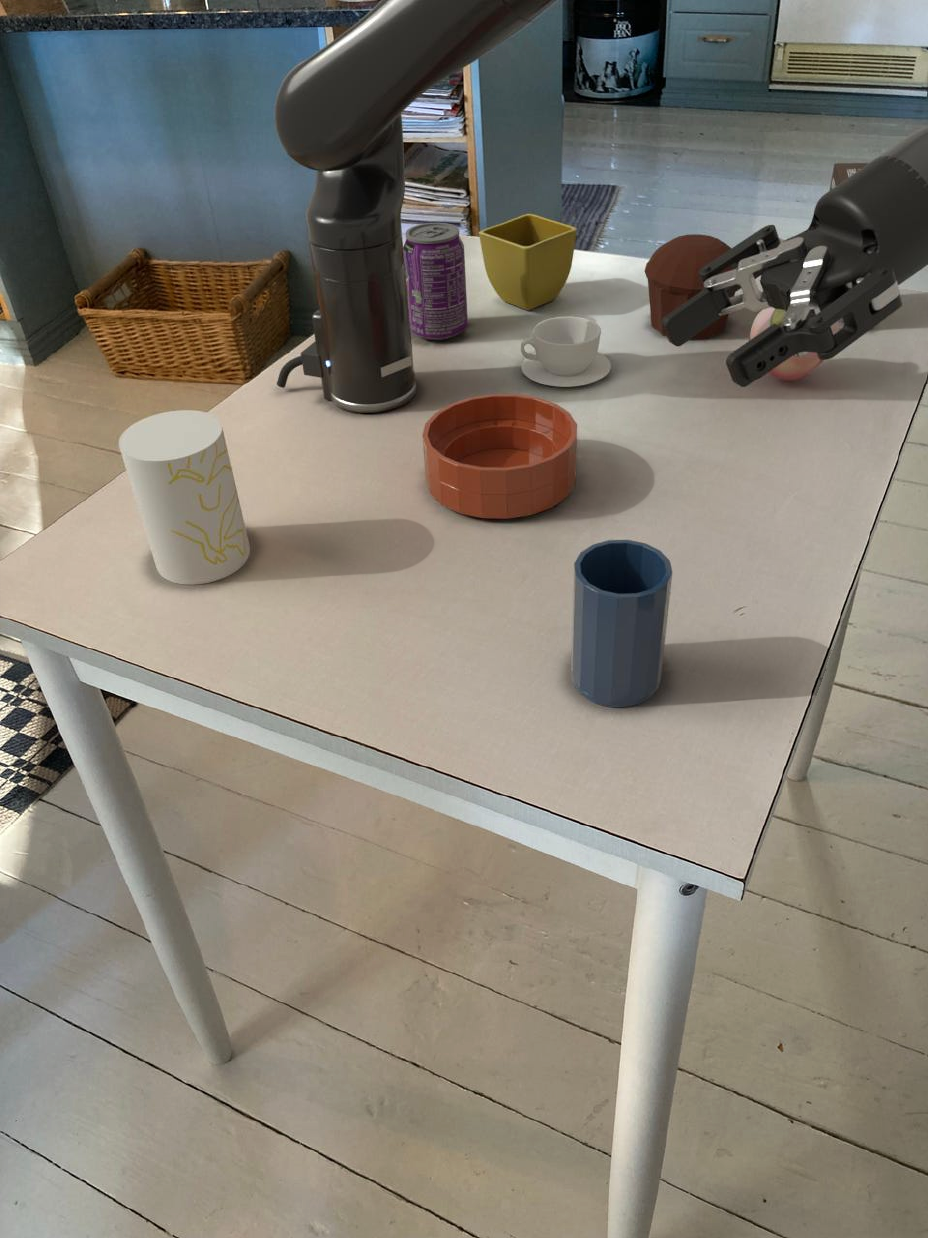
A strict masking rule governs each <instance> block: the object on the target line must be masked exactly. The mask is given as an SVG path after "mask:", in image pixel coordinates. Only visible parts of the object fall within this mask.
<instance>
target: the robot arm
mask: <svg viewBox="0 0 928 1238" xmlns="http://www.w3.org/2000/svg"><path fill="white" fill-rule="evenodd" d="M559 1H560V0H380V1H379V2H378V3H377V4H376V5H375V6H374V7H373V8H371V10H370V11H369V12H367V14H365V15H364V16H363V17H362V18H361V19H359V21H357V22H356V23H355V24H354V25H352V26H351V27H349V28H348V29H347V30H345V31H344V32H343V33H341V34H340V35H339V36H338V37H336V38H335V39H334V40H332V41H331V42H329V43H328V44H327V45H325V46H324V47H322V48H321V49H319V50H318V51H316V52H315V53H314V54H313V55H311V56H309V57H308V58H306V59H305V60H302V61H301V62H299V63H297V64H296V65H295V66H293V68H291V70H290V71H289V72H288V73H287V74H286V76H285V77H284V79H283V80H282V82H281V83H280V87H279V89H278V92H277V95H276V98H275V102H274V112H273V115H274V116H273V120H274V127H275V133H276V136H277V138H278V142H279V143H280V145H281V147H282V149H283V150H284V151H285V153H286V154H287V155H288V156H289V157H290V158H291V159H292V160H293V161H295V162H296V163H298V164H299V165H301V166H302V167H305V168H307V169H309V170H313V171H316V176H315V181H314V186H313V187H314V188H313V191H312V194H311V197H310V199H309V200H308V201H309V202H308V204H307V206H306V209H305V225H306V231H307V238H308V243H309V244H308V245H309V250H310V257H311V265H312V271H313V277H314V284H315V291H316V298H317V305H318V310H316V311H315V312H314V313H313V314H312V315H311V316H312V318H311V321H312V328H313V334H314V340H315V341H314V342H312V343H311V344H310V345H308V346H307V347H306V348H304V350H302V351H301V352H300V355H299V356H296V357H294V358H292V359H290V360H288V361H287V362H286V363H285V364H283V366H282V368H281V369H280V371H279V375H278V378H277V381H276V385H277V386H278V387H279V388H283V389H284V388H286V386H287V382H288V379H289V376H290V374H291V372H292V371H293V370H294V369H296V368H297V367H300V366H302V371H303V374H304V376H308V377H314V378H320V380H321V386H322V394H323V399H324V400H327V401H332V403H333V404H334V405H336V406H337V407H338V408H341V409H342V410H345V411H349V412H353V413H354V412H355V413H363V414H364V413H366V414H367V413H368V414H369V413H379V412H385V411H389V410H390V411H391V410H394V409H396V408H399V407H402V406H403V405H405V404H407V403H408V402H410V401H411V400H412V399H413V398H414V397H415V395H416V393H417V381H416V380H417V379H416V375H415V373H416V372H415V368H414V367H415V366H414V356H413V355H414V354H413V344H412V332H411V331H410V319H409V308H408V296H407V285H406V273H405V262H404V251H403V247H404V241H403V232H402V231H403V230H402V229H403V228H402V209H403V204H404V199H405V193H406V172H405V151H404V150H405V149H404V148H405V147H404V131H403V129H404V128H403V117H402V113H403V112H404V111H405V110H406V109H407V108H408V107H409V106H410V105H411V104H412V103H414V102H415V101H416V100H417V99H418V98H419V97H421V96H422V95H423V94H424V93H426V92H427V91H428V90H429V89H431V88H433V87H435V86H436V85H438V84H440V82H442V81H443V80H445V79H447V78H448V77H451V76H452V75H454V74H455V73H457V72H459V71H460V70H462V69H464V68H466V67H467V66H469V65H471V64H472V63H474V62H476V61H477V60H479V59H481V58H482V57H484V56H486V55H487V54H489V53H490V52H491V51H493V50H495V49H496V48H497V47H499V46H501V45H502V44H504V43H505V42H506V41H508V40H510V39H511V38H512V37H514V36H515V35H517V34H518V33H519V32H521V31H523V30H524V29H525V28H526V27H528V26H529V25H530V24H531V23H533V22H535V20H538V18H539V17H541V16H542V15H543V14H545V12H547V11H548V10H549V9H550V8H552V7H553V6H555V4H557V3H558V2H559ZM868 163H869V164H867V165H866V166H864V167H863V168H862V169H860V170H859V171H857V172H856V173H854V174H853V175H851V176H850V177H849V178H847V179H846V180H844V181H843V182H841V183H840V184H839V185H837V186H836V187H834V188H833V189H832V190H830V189H829V190H828V191H827V192H826V193H824V194H823V195H822V196H821V197H820V198H819V199H818V201H817V202H816V204H815V207H814V210H813V215H812V219H811V222H810V224H809V226H808V228H807V229H806V230H803V231H802V232H800V233H798V234H796V235H793V236H791V237H788V238H787V239H783V238H781V237H779V234H778V230H777V227H776V226H775V225H774V224H768V225H765V226H763V227H762V228H760V229H759V230H757V231H756V232H754V233H752V234H751V235H750V236H749V235H748V236H747V238H745V239H743V240H742V241H740V242H739V243H737V244H736V245H734V246H733V247H731V249H730V250H728V251H727V252H725V253H724V254H722V255H721V256H719V257H718V258H716V259H715V260H713V261H712V262H710V263H709V264H707V265H706V266H704V267H703V268H701V269H700V270H699V275H700V278H701V280H702V283H703V285H704V288H703V290H702V291H701V292H699V293H698V294H697V295H695V296H694V297H692V298H691V299H689V300H688V301H687V302H685V303H684V304H682V305H681V306H679V307H678V308H677V309H675V310H674V311H672V312H671V313H670V314H668V315H667V316H665V317H664V318H663V320H662V327H663V329H664V331H665V334H666V336H665V337H666V339H667V340H668V342H669V343H670V344H672V346H674V347H681V346H683V345H684V344H686V343H688V341H690V340H692V339H691V338H693V337H694V336H696V335H697V334H698V333H700V332H701V331H703V330H704V329H706V328H707V327H708V326H710V325H711V324H713V323H714V322H716V321H717V320H719V319H720V316H722V315H725V314H728V313H729V314H732V313H735V312H737V311H742V310H745V309H747V310H749V311H750V312H752V313H753V312H754V313H756V312H761V310H763V309H767V308H770V307H772V308H775V309H781V310H785V311H786V313H785V315H784V317H783V319H782V325H783V326H782V327H780V326H778V325H776V324H773V325H771V326H770V327H768V328H767V329H765V330H764V331H763V332H761V333H760V334H758V335H757V336H755V337H754V338H753V339H751V340H750V339H749V340H748V341H747V342H746V343H744V344H743V345H741V346H740V347H738V348H736V349H735V350H733V351H732V352H731V353H729V354H728V356H727V357H726V360H725V365H726V368H727V370H728V372H729V375H730V378H731V380H732V382H733V383H734V384H735V385H737V386H739V387H740V388H745V387H748V386H749V385H751V384H752V383H753V382H755V381H757V380H759V379H761V378H763V377H764V376H765V375H767V374H768V373H767V372H770V371H771V370H773V368H776V367H777V366H779V365H780V364H781V363H783V362H784V361H786V360H787V359H789V358H790V357H792V356H795V357H802V356H805V355H807V354H808V353H810V352H814V353H817V355H818V358H819V359H821V360H824V361H827V360H830V359H834V358H835V357H836V356H837V355H838V354H840V353H841V352H843V351H844V350H845V349H847V348H848V347H850V346H851V345H852V344H853V343H855V342H856V341H857V340H859V339H860V338H861V337H862V336H864V335H866V334H867V333H868V332H869V331H871V330H872V329H873V328H875V327H876V326H877V325H879V324H880V323H882V322H883V321H884V320H886V319H887V318H889V317H890V316H891V315H892V314H894V313H895V312H896V311H897V310H899V309H900V308H901V307H902V305H903V301H902V296H901V291H900V288H899V286H900V285H901V284H903V283H904V282H905V281H907V280H909V279H910V278H912V277H913V276H914V275H916V274H918V272H920V271H921V270H923V269H924V268H925V267H927V266H928V125H926V126H923V127H922V128H920V129H918V130H916V131H914V132H913V133H911V134H909V135H907V136H905V137H904V138H902V139H901V140H899V142H897V143H896V144H893V146H891V147H890V148H888V149H887V150H885V151H884V152H883V153H881V154H879V156H877V157H876V158H874V159H872V160H871V161H870V162H868ZM731 265H732V267H733V270H731V271H728V272H725V273H722V274H719V273H720V272H722V271H723V270H725V269H726V268H728V267H729V266H731ZM759 277H760V278H759ZM758 278H759V283H760V286H761V289H762V290H760V289H759V287H758V284H757V281H756V279H758ZM740 290H742V293H740V294H736V292H738V291H740ZM733 293H735V294H736V295H734V297H731V298H729V296H730V295H732V294H733ZM841 318H843V321H844V326H843V328H842V329H839V331H838V332H837V333H835V334H834V335H833V332H832V329H831V326H832V325H833V324H834V323H836V322H837V321H838V320H840V319H841Z"/></svg>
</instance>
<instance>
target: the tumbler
mask: <svg viewBox="0 0 928 1238" xmlns="http://www.w3.org/2000/svg"><path fill="white" fill-rule="evenodd" d="M573 563H574V564H573V594H572V595H573V596H572V597H573V598H572V627H571V628H572V631H571V663H570V664H571V666H570V667H571V680H572V681H571V682H572V684H573V686H574V688H575V689H576V690H577V692H578V693H579V694H580V695H581V696H583V698H585V699H587V700H589V701H590V702H592V703H594V704H597V705H600V706H604V707H610V708H627V707H628V708H629V707H633V706H637V705H640V704H642V703H644V702H646V701H648V700H649V699H651V698H652V697H653V696H654V695H655V693H656V692H658V689H659V687H660V683H661V678H662V674H663V666H664V665H663V664H664V653H665V645H666V637H667V636H666V635H667V627H668V617H669V608H670V599H671V590H672V589H671V588H672V580H673V568H672V563H671V560H670V559H669V558H668V557H667V556H666V555H665V554H664V553H663V552H662V551H661V550H660V549H658V548H656V547H654V546H652V545H650V544H648V543H645V542H641V541H636V540H632V539H608V540H605V541H601V542H597V543H594V544H591V545H589V546H588V547H587V548H585V549H584V550H582V551H581V552H580V553H579V554H578V556H577V558H576V560H575V561H574V562H573Z"/></svg>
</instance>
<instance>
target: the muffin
mask: <svg viewBox="0 0 928 1238" xmlns="http://www.w3.org/2000/svg"><path fill="white" fill-rule="evenodd" d="M731 248H732V247H731V246H730V245H728V244H727V243H725V242H724V241H722V240H721V239H720V238H717V237H714V236H712V235H707V234H700V233H698V234H693V233H692V234H684V235H679V236H676V237H673V238H672V239H670V240H669V241H667V242H665V243H664V244H662V245H660V246H659V247H658V248H657V249H655V251H654V252H653V253H652V255H651V257H650V258H649V260H648V261H647V262H646V264H645V267H644V271H643V272H644V274H645V277H646V278H647V286H648V287H647V288H648V301H649V312H650V313H649V314H650V323H651V324H650V325H651V327H652V328H653V329H655V330H656V331H657V332H658V333H660V335H662V336H665V337H667V336H666V334H665V331H664V329H663V327H662V320H663V318H664V317H665V316H667V315H668V314H670V313H671V312H672V311H674V310H675V309H677V308H678V307H679V306H681V305H682V304H684V303H685V302H687V301H688V300H689V299H691V298H692V297H694V296H695V295H697V294H698V293H699V292H701V291H702V290H703V288H704V285H703V283H702V280H701V278H700V275H699V270H700V269H701V268H703V267H704V266H706V265H707V264H709V263H710V262H712V261H713V260H715V259H716V258H718V257H719V256H721V255H722V254H724V253H725V252H727V251H728V250H730V249H731ZM731 270H733V267H732V265H731V266H729V267H728V268H726V269H725V270H723V271H722V272H720V273H719V274H722V273H725V272H728V271H731ZM734 296H736V292H735V293H733V294H732V295H730V296H729V298H731V297H734ZM729 316H730V313H728V314H725V315H722V316H720V319H719V320H717V321H716V322H714V323H713V324H711V325H710V326H708V327H707V328H706V329H704V330H703V331H701V332H700V333H698V334H697V335H696V336H694V337H693V338H691V339H690V340H708V339H710V338H712V337H714V336H716V335H720V334H723V333H724V332H725V330H726V326H727V323H728V320H729Z"/></svg>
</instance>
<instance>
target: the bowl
mask: <svg viewBox="0 0 928 1238" xmlns="http://www.w3.org/2000/svg"><path fill="white" fill-rule="evenodd" d="M421 437H422V448H423V461H424V471H425V481H426V485H427V488H428V491H429V494H430V496H431V497H433V498H434V499H435V500H436V501H437V502H438V503H439V504H440V505H441V506H443V507H446V508H448V509H449V510H452V511H454V512H456V513H458V514H460V515H464V516H465V515H466V516H471V517H474V518H475V517H476V518H479V519H505V520H507V519H514V518H522V517H526V516H532V515H535V514H537V513H540V512H543V511H546V510H548V509H551V508H553V507H554V506H556V505H557V504H559V503H560V502H561V501H563V500H564V499H566V498H567V497H568V496H569V495H570V493H571V492H572V490H573V489H574V487H575V486H576V483H577V481H576V480H577V453H578V450H577V449H578V424H577V422H576V420H575V419H574V417H573V415H572V414H571V413H570V412H569V411H567V410H566V409H564V408H563V407H562V406H560V405H559V404H557V403H554V402H551V401H549V400H546V399H544V398H541V397H538V396H531V395H526V394H525V395H524V394H518V393H492V394H485V395H479V396H471V397H468V398H465V399H461V400H459V401H456V402H452V403H450V404H448V405H446V406H445V407H442V408H441V409H439V410H438V411H436V412H435V413H433V415H432V416H431V417H430V418H429V419H428V420H427V421H426V422H425V424H424V428H423V431H422V436H421Z"/></svg>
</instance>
